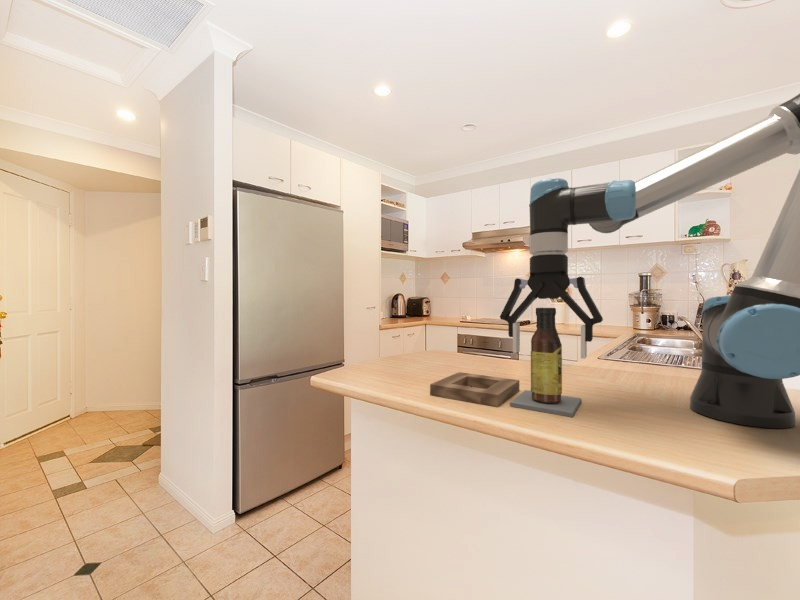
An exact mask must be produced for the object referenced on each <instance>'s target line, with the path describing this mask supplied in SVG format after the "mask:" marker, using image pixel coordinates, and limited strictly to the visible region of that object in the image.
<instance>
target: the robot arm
mask: <svg viewBox="0 0 800 600" xmlns="http://www.w3.org/2000/svg"><path fill="white" fill-rule="evenodd" d="M785 154H788V155H800V93H798V94H797V95H795V96H794V97H792V98H791V99H789V100H787V101H785V102H783V103H781V104H779V105H777V106H775V107H773V108H772V109H771V111H770V113H769V115H768V116H766V117H765V118H763V119H760V120H759V121H756V122H755V123H753V124H751V125H748V126H747V127H745V128H742V129H740V130H739V131H736V132H733V133H732V134H731V135H728V136H725V137H724V138H722V139H720V140H717V141H716V142H713V143H711V144H710V145H707V146H706V147H704V148H702V149H700V150H698V151H696V152H693V153H691V154H689V155H688V156H685V157H683V158H681V159H679V160H677V161H675V162H672V163H671V164H668V165H667V166H664V167H663V168H661V169H658V170H656V171H655V172H652V173H650V174H648V175H646V176H644V177H642V178H640V179H638V180H636V181H634V180H632V179H626V180H625V179H624V180H612V181H608V182H603V183H595V184H588V185H583V186H574V187H570V186H569V183H568V181H567V180H566V179H564V178H547V179H541V180H539V181H537V182H535V183H534V184H532V185H531V188H530V195H529V205H528V206H529V254H531V255H532V256H531V257H530V258H529V278H527V279H522V278H515V279H514V281H513V282H514V284H513V289H512V292H511V293H510V295H509V297H508V299H507V300H506V303H505V305H504V307H503V310H502V311H501V313H500V316H499V319H500V320H503V321H505V322H507V324H508V325H507V326H508V332H507V333H508V337H509V338H512V353H514V354H517V353H520V351H521V348H520V347H521V345H520V344H521V343H520V342H521V338H520V335H521V334H520V333H521V330H520V329H521V326H520V325H521V324H520V323H521V322H517V320H519V318H520V317H521V316H522V315H523V314H524V313H525V312H526V310H527V309H528V308H529V306H531V305H532V304H533V302H534V301H536V300H537V298H538V299H539V300H541V299H543V300H544V299H551V300H556V299H559V298H560V299H561V300H563V302H565V304H566V305H567V306H568V307H569V308H570V309H571V310H572V311H573V313H575V315H576V316H577V317H578V318H579V320H581V321H582V322H583V324H581V325H580V359H582V360H583V359H586V358H587V356H588V355H587V352H588V351H587V350H588V348H587V346H588V342H589V343H590V342H593V339H594V337H593V335H594V333H593V331H594V329H593V328H594V325H596V324H601V323H602V322H603V320H604V319H603V318H604V317H603V316H602V314H601V312H600V311H599V309H598V307H597V305H596V304H595V302H594V300H593V297H592V296H591V294H590V293H589V291H588V288H587V287H586V279H585V278H584V277H583V276H578V277H574V278H570V277H569V273H568V272H569V269H568V268H569V267H568V266H569V263H568V262H569V257H568V256H567V255H566V253H568V251H569V242H568V240H569V235H568V234H569V226H575V225H584V224H585V225H586V224H587V225H588V224H589V227H591V228H592V230H595V231H596V232H598V233H602V234H611V233H614V232H616V231H618V230H620V229H621V228H622V227H623V226H624V225H627V224H628V223H631V222H633V221H635V220H637V219H639V218H643V216H646V215H649V214H650V213H653V212H655V211H657V210H660V209H661V208H664V207H666V206H668V205H671V204H673V203H676V202H678V201H680V200H683V199H685V198H686V197H689V196H690V197H691V196H692V195H694V194H696V193H698V192H701V191H704V190H706V189H708V188H710V187H712V186H715V185H717V184H718V183H722V182H723V181H725V180H728V179H730V178H732V177H735V176H737V175H739V174H741V173H742V174H743V173H744V172H747V171H748V170H751V169H753V168H755V167H758V166H760V165H762V164H765V163H767V162H769V161H771V160H774V159H776V158H779V157H781V156H783V155H785ZM763 248H764V249H763V251H762V253H761V255H760V257H759V259H758V262H757V264H756V267H755V269H754V271H753V273H752V275H751V277H750V278H748V279H746V280H743V281H741V282H739V283H736V284H735V285H734V288H733V290H732V292H731V294H730V295H723V296H713V297H710V298H707V299H706V300H704V302H703V306H702V307H703V308H702V310H701V316H702V334H701V335H702V337H701V338H702V339H701V340H702V342H701V372H700V375H699V377H698V379H697V380H696V383H695V385H694V387H693V390H692V392H691V395H690V397H689V408H690V409H691V410H692V411H693V412H695V413H697V414H700V415H702V416H705V417H708V418H712V419H715V420H719V421H723V422H727V423H732V424H737V425H741V426H743V425H744V426H748V425H749V426H748V427H755V426H756V428H764V429H766V428H767V429H788V428H792V427H795V426H796V411H795V408H794V406H793V403H792V402H791V400H790V397H789V394H788V392H787V390H786V387H785V384H784V382H783V379H790V378H795V377H798V376H800V169H799V170H798V173H797V175H796V177H795V179H794V181H793V183H792V186H791V187H790V189H789V192H788V195H787V197H786V199H785V202H784V204H783V206H782V208H781V210H780V213H779V215H778V216H777V220H776V222H775V224H774V227H773V228H772V231H771V233H770V235H769V237H768V240H767V242H766V244H765V246H764V247H763ZM570 285H573V287H574V288H575V289H578V292H579V295H580V296H581V298H582V299H583V302H584V303H585V305H586V307H587V309H588V310H589V312H590V314H591V316H592V318H591V317H590V316H589V315H588V314H587V313H586V312H585V311H584V310H583V309H582V307H580V305H579V304H578V303H577V302H576V301H575V300H574V298H572V296H571V295H570V294H569V293H568V292H567V291H566V290H567V289H568V288H569V287H570ZM526 286H528V288H529V289H530V290H531V291H530V292H529V293H528V294H527V296H526V297H525V299H524V300H523V301H522V302H521V303H520V304H519V306H518V307H517V308H516V309H515V310H514V312H512V311H513V309H514V307H515V305H516V303H517V301H518V299H519V298H520V296H521V293H522V290H523V289H525V288H526ZM511 313H512V314H511Z"/></svg>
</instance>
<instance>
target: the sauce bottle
mask: <svg viewBox="0 0 800 600" xmlns="http://www.w3.org/2000/svg"><path fill="white" fill-rule="evenodd" d="M556 309H557V308H555V307H535V316H536V330H535V331H534V333H533V335H532V337H531V339H530V343H531V345H530V346H531V347H530V349H531V350H530V391H531V392H532V399H533V400H535V401H538V402H543V403H557V402H560V401H561V395H562V394H563V355H562V353H563V349H562V348H563V347H562V341H561V339H560V336H559V333H558V331H557V328H556V327H557V326H556V315H557V310H556Z"/></svg>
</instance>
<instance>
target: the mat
mask: <svg viewBox="0 0 800 600" xmlns="http://www.w3.org/2000/svg"><path fill="white" fill-rule="evenodd" d="M581 404H582V398H580V397H576V396H569V395H568V396H567V395H562V394H561V401H560V402H557V403H543V402H538V401H535V400H533V399H532V392H531V390H527V389H525V390H523V391H522V392H521V393H520V394H518V395H517V396H516V397H515V398H514V399H513V400H511V401H510V403H509V407H511V408H516V409H518V408H519V409H524V410H528V411H529V410H530V411H534V412H541V413H546V414H553V415H558V416H564V417H570V418H573V417H574V416H575V414H576V411H577V410H578V408H580V405H581Z"/></svg>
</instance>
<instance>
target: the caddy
mask: <svg viewBox="0 0 800 600" xmlns="http://www.w3.org/2000/svg"><path fill="white" fill-rule="evenodd" d="M471 386H472V387H471ZM519 391H520V379H513V378H506V377H498V376H491V375H484V374H476V373H469V372H461V371H460V372H459V371H458V372H455V373H454V374H451V375H449V376H446V377H444V378H441V379H439V380H436V381H435V382H432V383H430V385H429V395H430V396H434V397H439V398H445V399H451V400H457V401H462V402H467V403H472V404H478V405H485V406H489V407H495V408H498V407H499V406H501V405H502V404H503V403H505V402H506V401H507V400H509V399H510V398H511V397H513V396H514V395H515V394H516V393H518V392H519Z"/></svg>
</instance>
